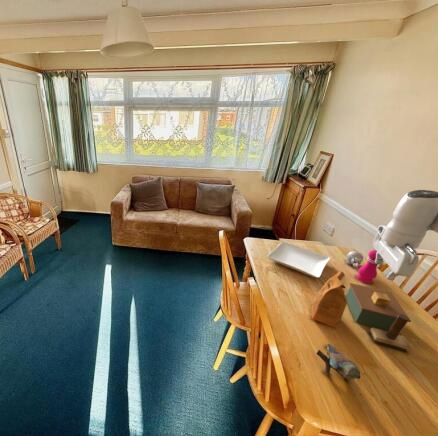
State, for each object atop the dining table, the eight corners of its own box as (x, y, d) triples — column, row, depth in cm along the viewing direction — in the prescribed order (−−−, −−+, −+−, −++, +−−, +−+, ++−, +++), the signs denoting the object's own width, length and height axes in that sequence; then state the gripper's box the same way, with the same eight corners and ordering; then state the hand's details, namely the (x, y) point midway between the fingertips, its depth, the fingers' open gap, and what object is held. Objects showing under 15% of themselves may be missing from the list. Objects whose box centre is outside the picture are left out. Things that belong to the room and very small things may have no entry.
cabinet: (384, 306, 107) (392, 292, 103) (403, 336, 92) (413, 321, 89) (343, 295, 113) (349, 282, 109) (354, 322, 98) (362, 308, 95)
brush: (400, 341, 90) (418, 316, 84) (407, 352, 86) (426, 327, 80) (368, 332, 94) (383, 307, 88) (373, 342, 90) (389, 317, 84)
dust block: (382, 300, 99) (386, 294, 97) (386, 306, 95) (390, 300, 94) (371, 297, 100) (374, 291, 99) (374, 303, 97) (378, 297, 95)
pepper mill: (371, 278, 124) (387, 247, 116) (374, 286, 119) (392, 254, 110) (354, 273, 128) (368, 243, 119) (356, 281, 122) (372, 249, 114)
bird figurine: (311, 337, 91) (331, 327, 75) (342, 349, 87) (369, 341, 71) (308, 374, 85) (329, 371, 69) (341, 388, 81) (370, 389, 65)
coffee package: (338, 312, 103) (357, 274, 94) (336, 331, 95) (357, 290, 85) (312, 302, 109) (327, 264, 100) (308, 318, 100) (324, 279, 91)
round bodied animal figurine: (345, 269, 131) (350, 257, 128) (343, 259, 140) (348, 247, 137) (361, 273, 128) (367, 261, 124) (358, 263, 137) (364, 251, 133)
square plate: (329, 261, 138) (331, 256, 136) (317, 283, 121) (319, 277, 119) (281, 244, 156) (282, 239, 154) (265, 261, 139) (266, 255, 137)
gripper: (433, 256, 67) (410, 292, 72) (399, 226, 83) (382, 258, 89) (404, 251, 69) (384, 286, 75) (376, 223, 86) (362, 254, 92)
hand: (383, 270), depth 82 cm, fingers open, 8 cm apart
